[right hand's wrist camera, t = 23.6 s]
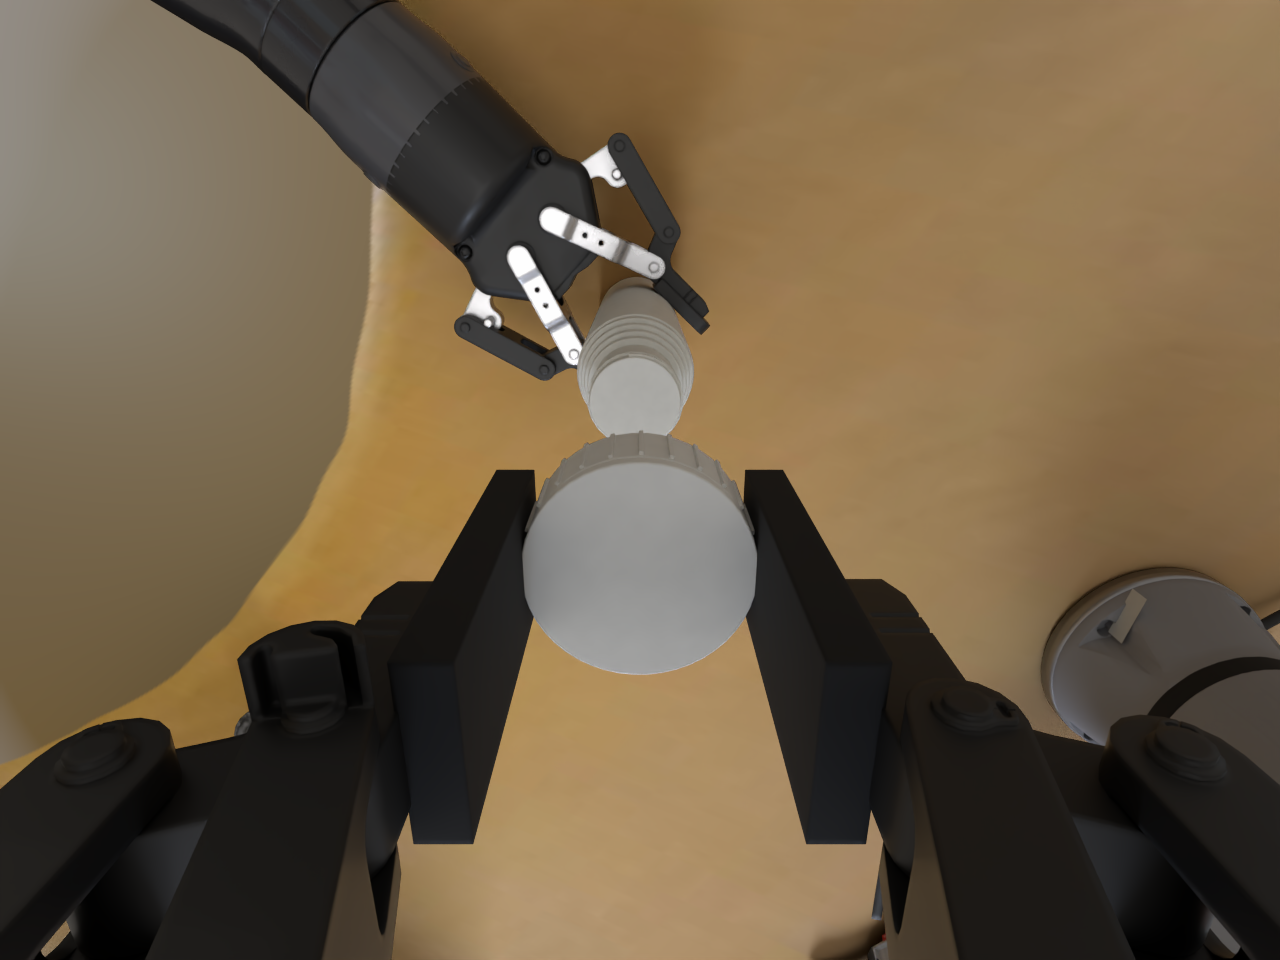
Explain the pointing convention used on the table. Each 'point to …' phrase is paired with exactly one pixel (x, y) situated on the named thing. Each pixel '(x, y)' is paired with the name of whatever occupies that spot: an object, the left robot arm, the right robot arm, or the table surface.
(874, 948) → the toy gun
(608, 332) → the bottle
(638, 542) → the cap
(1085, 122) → the table surface
